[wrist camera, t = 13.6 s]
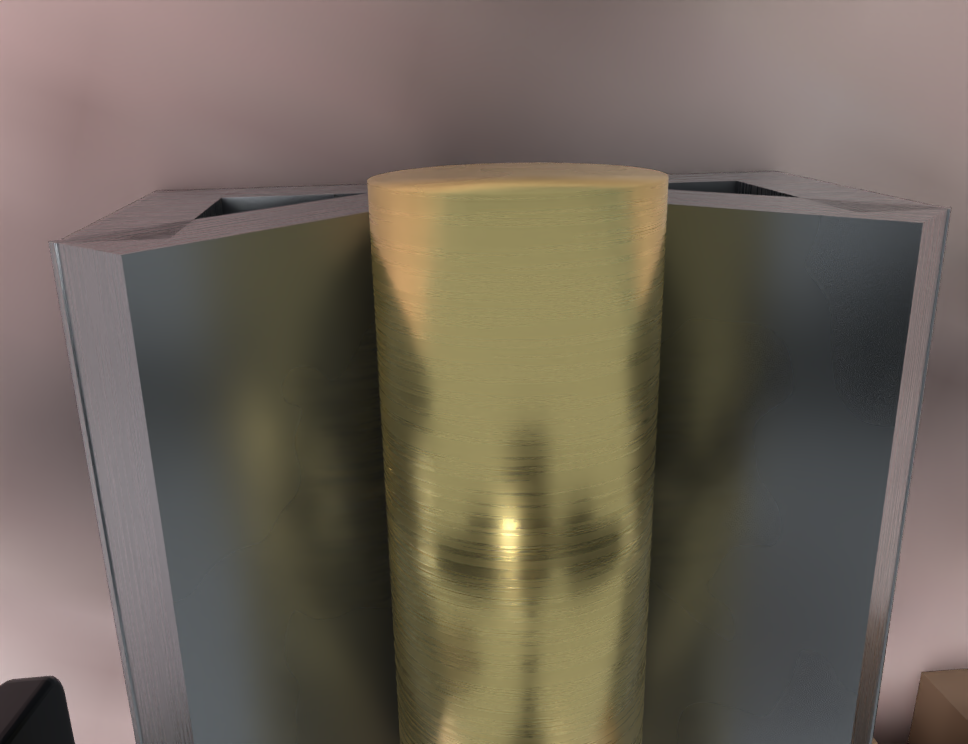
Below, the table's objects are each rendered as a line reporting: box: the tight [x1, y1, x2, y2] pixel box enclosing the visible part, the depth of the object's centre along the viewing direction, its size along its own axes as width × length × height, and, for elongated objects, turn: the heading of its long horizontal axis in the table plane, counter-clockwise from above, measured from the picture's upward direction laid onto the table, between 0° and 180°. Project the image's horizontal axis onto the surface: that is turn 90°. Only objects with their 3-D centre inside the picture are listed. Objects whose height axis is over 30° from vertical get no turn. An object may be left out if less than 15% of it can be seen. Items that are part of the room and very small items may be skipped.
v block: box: [48, 171, 951, 744], centre depth 11 cm, size 8×9×5 cm
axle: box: [367, 163, 669, 744], centre depth 10 cm, size 9×3×3 cm, turn 1°
